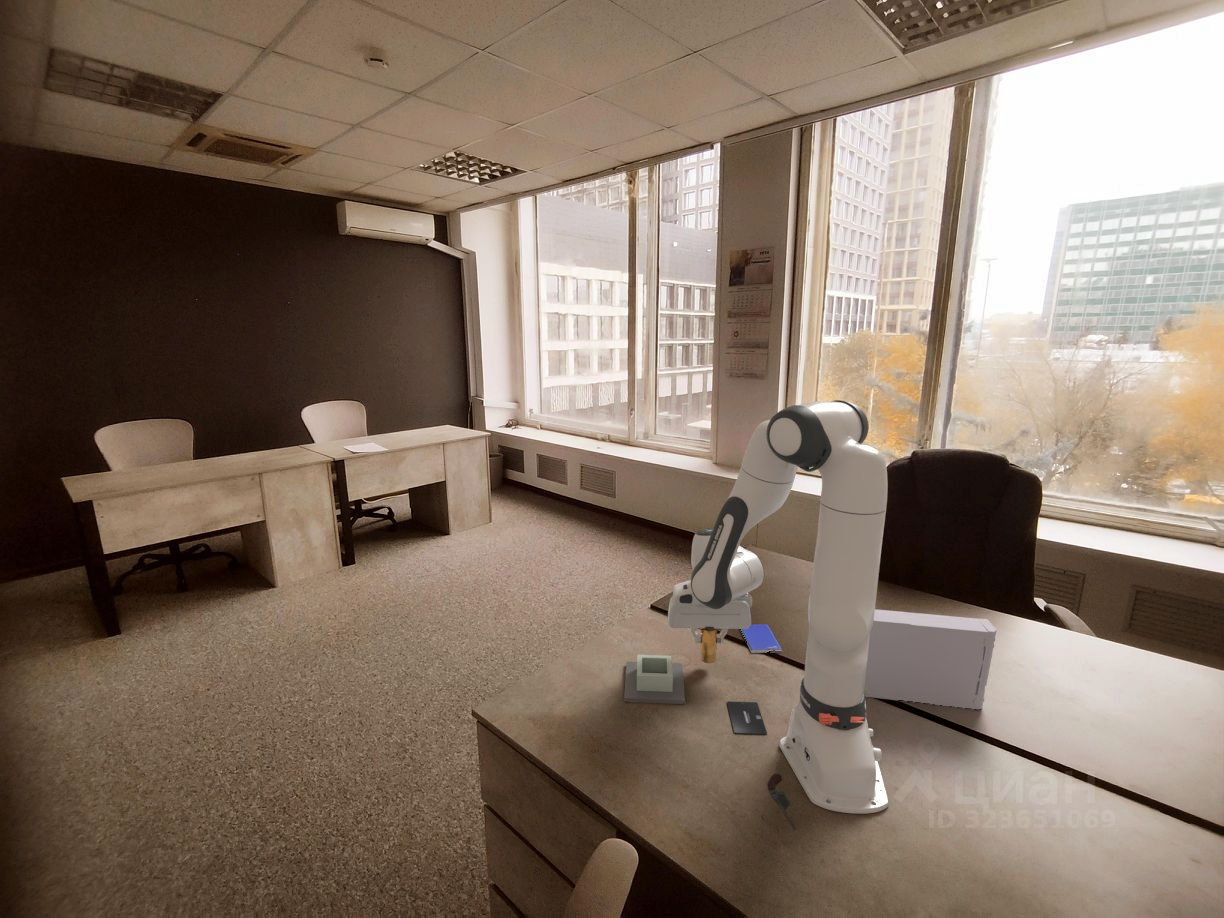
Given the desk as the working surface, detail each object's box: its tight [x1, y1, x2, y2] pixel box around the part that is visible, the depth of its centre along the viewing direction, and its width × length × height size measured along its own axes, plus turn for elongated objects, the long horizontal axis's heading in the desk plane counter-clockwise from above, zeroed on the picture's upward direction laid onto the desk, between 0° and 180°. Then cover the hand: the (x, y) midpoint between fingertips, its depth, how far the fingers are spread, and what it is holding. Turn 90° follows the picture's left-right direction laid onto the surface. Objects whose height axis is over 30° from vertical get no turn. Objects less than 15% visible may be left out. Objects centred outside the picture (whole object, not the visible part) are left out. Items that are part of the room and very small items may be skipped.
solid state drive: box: [726, 700, 768, 736], centre depth 121 cm, size 7×10×1 cm
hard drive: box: [740, 623, 783, 654], centre depth 151 cm, size 2×8×12 cm
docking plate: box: [624, 654, 686, 705], centre depth 132 cm, size 14×14×5 cm
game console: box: [864, 608, 997, 710], centre depth 125 cm, size 6×27×20 cm, turn 78°
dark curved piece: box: [767, 773, 798, 831], centre depth 99 cm, size 14×4×1 cm, turn 13°
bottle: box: [699, 627, 718, 664], centre depth 136 cm, size 4×4×10 cm
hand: (708, 642), depth 136 cm, fingers closed on bottle, 4 cm apart
